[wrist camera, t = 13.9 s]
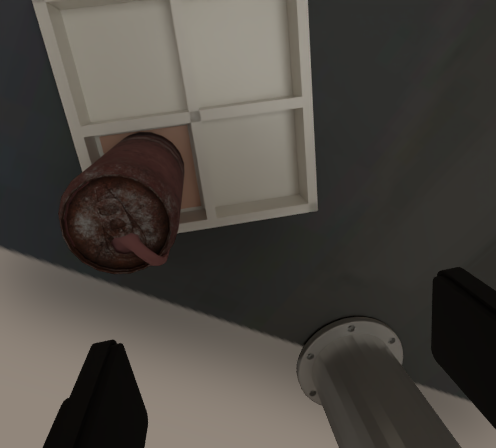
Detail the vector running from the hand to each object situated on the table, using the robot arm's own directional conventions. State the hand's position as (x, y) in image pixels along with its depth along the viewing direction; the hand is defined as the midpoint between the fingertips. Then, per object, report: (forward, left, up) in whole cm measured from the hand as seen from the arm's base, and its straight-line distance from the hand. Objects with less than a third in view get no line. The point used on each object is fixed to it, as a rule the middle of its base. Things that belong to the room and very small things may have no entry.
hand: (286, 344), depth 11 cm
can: (+1, +6, -24) cm, 24 cm away
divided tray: (+5, +2, -24) cm, 25 cm away
